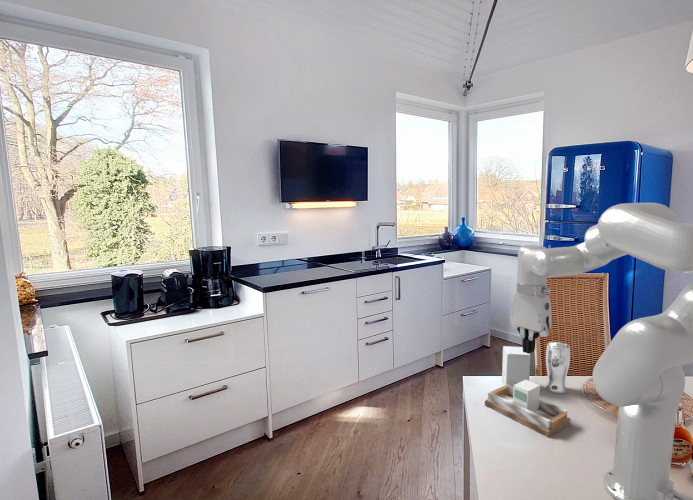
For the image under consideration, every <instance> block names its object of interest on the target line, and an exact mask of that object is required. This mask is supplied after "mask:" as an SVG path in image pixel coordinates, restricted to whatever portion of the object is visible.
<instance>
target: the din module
mask: <svg viewBox="0 0 693 500" xmlns="http://www.w3.org/2000/svg"><path fill="white" fill-rule="evenodd" d="M540 393H541V385H540V384H538V383H535V382H532V381H530V380H529V381H528V380H524V381H522V382H519V383H517V384H515V385H514V389H513V403H515V404H517V405H519V406H521V407H523V408H525V409H528V410H530V411H534V410H536V409H538V408H539V398H540Z"/></svg>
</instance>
